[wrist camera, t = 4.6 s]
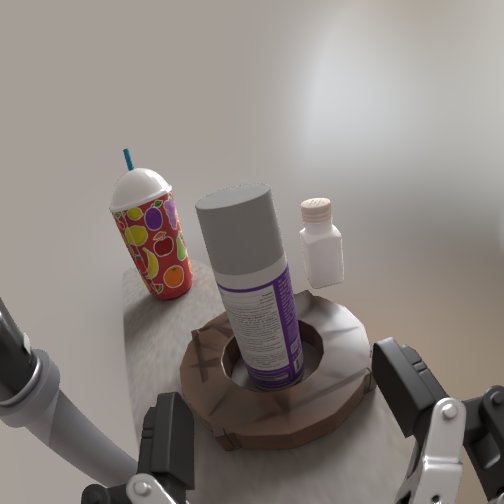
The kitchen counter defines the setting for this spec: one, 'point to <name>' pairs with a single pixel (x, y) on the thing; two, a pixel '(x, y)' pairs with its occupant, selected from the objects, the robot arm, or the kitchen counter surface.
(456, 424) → the robot arm
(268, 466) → the kitchen counter surface
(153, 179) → the smoothie
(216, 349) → the collar
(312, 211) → the pepper shaker
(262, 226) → the container
